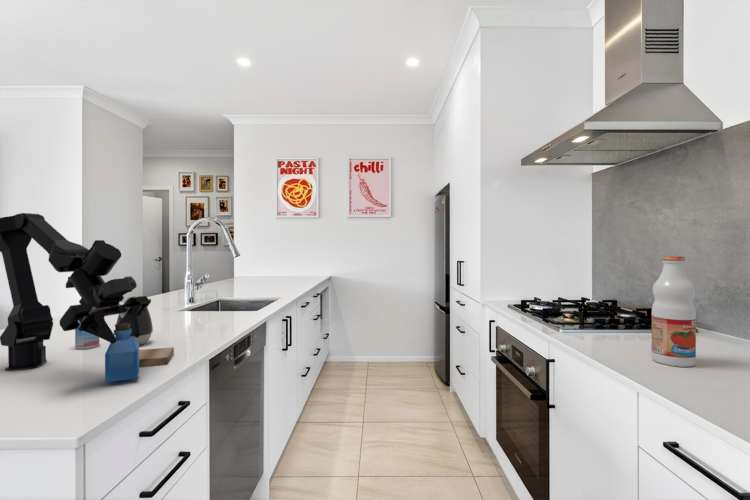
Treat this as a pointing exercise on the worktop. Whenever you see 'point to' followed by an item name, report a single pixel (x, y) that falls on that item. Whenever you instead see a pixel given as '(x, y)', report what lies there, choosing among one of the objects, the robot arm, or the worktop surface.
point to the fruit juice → (674, 316)
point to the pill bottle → (85, 339)
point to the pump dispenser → (142, 325)
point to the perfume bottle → (122, 355)
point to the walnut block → (155, 356)
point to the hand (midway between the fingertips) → (127, 339)
